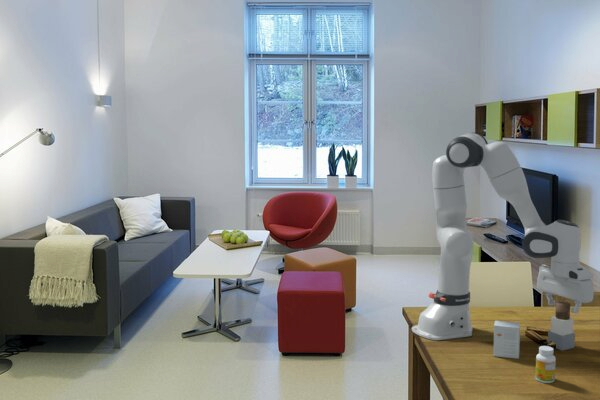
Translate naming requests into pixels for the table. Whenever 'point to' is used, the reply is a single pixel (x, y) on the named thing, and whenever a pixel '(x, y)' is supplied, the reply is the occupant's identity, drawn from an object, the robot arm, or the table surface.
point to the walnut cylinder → (562, 310)
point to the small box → (506, 339)
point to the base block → (562, 340)
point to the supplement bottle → (545, 365)
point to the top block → (562, 326)
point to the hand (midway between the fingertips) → (563, 309)
